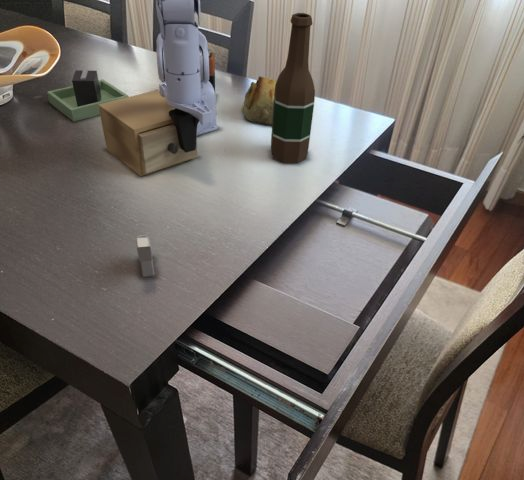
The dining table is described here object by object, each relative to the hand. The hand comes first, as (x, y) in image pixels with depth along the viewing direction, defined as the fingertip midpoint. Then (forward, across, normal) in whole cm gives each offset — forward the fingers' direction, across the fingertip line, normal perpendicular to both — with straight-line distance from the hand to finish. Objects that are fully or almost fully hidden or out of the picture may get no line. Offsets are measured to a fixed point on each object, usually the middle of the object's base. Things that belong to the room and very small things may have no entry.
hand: (188, 149), depth 90 cm
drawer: (+3, +6, +3) cm, 7 cm away
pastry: (+4, +10, -27) cm, 29 cm away
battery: (+3, +27, -19) cm, 33 cm away
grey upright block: (+4, -24, +21) cm, 32 cm away
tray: (+3, +35, +4) cm, 36 cm away
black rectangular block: (+3, +35, +4) cm, 36 cm away
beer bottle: (+4, -6, -20) cm, 21 cm away
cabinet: (+3, +8, +4) cm, 10 cm away
